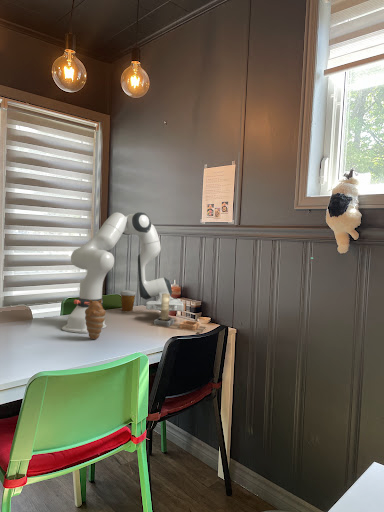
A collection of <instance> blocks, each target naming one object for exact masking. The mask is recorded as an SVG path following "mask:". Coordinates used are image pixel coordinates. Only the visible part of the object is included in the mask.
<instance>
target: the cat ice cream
mask: <svg viewBox="0 0 384 512" xmlns="http://www.w3.org/2000/svg"><path fill="white" fill-rule="evenodd" d="M101 302H102V300H99V301H92V300H89V303H90V304H89V307H88V308H87V309H86V310H85V314H86V316H85V320H86V326H87V331H88V337H89V338H90V339H91V340H97V339H99V338H100V335H101V332H102V329H103V328H102V327H103V322H104V323H105V319H106V318H105V315H106V314H107V313H106V310H105V308H104V307H103V304H102V305H101ZM101 328H102V329H101Z"/></svg>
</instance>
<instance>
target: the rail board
mask: <svg viewBox="0 0 384 512" xmlns="http://www.w3.org/2000/svg"><path fill="white" fill-rule="evenodd" d="M147 326H151V327H157V328H164V329H172V330H179V331H187V332H192V333H195V335H197V334H200V333H201V334H202V333H203V332H204V331H205V330H206V329H205V328H207V327H206V326H201V324H200V322H199V321H193V320H192V321H191V320H183V321H181V322H180V323H179V322H175V318H170V317H168V321H161V316H160V317H157V318H156V319H154V320H153V321H152V322H151V323H149V324H147ZM204 329H205V330H204ZM203 330H204V331H203ZM202 331H203V332H202ZM201 334H200V335H201Z"/></svg>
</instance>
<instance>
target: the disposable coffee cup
mask: <svg viewBox="0 0 384 512" xmlns="http://www.w3.org/2000/svg"><path fill="white" fill-rule="evenodd" d="M119 294H120V296H121V297H120V298H121V299H120V300H121V310H122V311H123V312H126V313H127V312H133V309H134V304H135V298H136V295H137V293H136V290H132V289H122V290H120V293H119Z"/></svg>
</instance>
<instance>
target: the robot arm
mask: <svg viewBox="0 0 384 512" xmlns="http://www.w3.org/2000/svg"><path fill="white" fill-rule="evenodd" d="M157 231H158V230H157V229H156V226H155V225H154V224H152V222H151V219H150V218H149V216H148V215H147V214H146V213H145V212H141V211H140V212H136V213H130V214H127V215H124V214H123V213H121V212H118V211H117V212H116V211H115V212H114V213H112V214H110V216H109V217H108V218H107V219H106V220H105V221H104V222H103V224H102V226H100V228H99V230H97V233H96V234H95V235H93V236H92V238H91V239H89V241H86V243H85V244H83V245H82V246H80V247H78V248H76V249H74V250H73V251H72V253H71V255H70V261H71V264H72V265H73V266H74V267H76V268H78V269H81V270H85V271H86V275H85V277H84V278H83V279H82V280H80V282H79V295H78V299H74V300H73V304H74V305H76V307H75V308H73V310H72V312H71V313H70V314H69V315H68V317H67V324H66V325H63V326H62V327H61V330H63V331H64V332H69V333H78V334H87V333H88V334H89V332H88V331H87V326H86V320H85V316H86V314H85V310H86V309H87V308H88V307H89V304H90V303H89V300H92V301H99V300H102V302H101V305H102V306H103V304H104V303H103V301H104V300H103V299H104V298H103V286H104V280H105V278H106V276H107V274H108V273H109V271H111V270H112V269H113V267H114V265H115V257H114V255H113V253H112V252H110V250H112V249H113V248H114V247H115V246H116V244H117V242H118V241H119V240H120V238H121V236H123V235H126V236H129V235H135V234H136V235H137V237H138V238H139V244H140V253H139V254H138V256H137V270H138V271H137V273H138V294H139V297H140V298H142V299H144V300H146V303H145V309H146V310H151V311H152V310H153V311H160V312H161V303H162V294H170V298H169V312H183V311H184V302H183V301H182V300H181V299H180V298H178V297H177V298H176V297H172V294H173V290H172V284H171V282H170V280H169V279H168V278H167V277H160V278H156V279H152V280H148V281H147V280H146V279H147V278H146V265H148V263H149V262H151V261H152V260H154V259H155V258H156V257H158V256H159V254H160V253H161V250H162V245H161V242H160V237H159V235H158V232H157ZM156 297H157V299H156V300H150V299H152V298H156ZM147 300H148V301H147ZM105 328H107V324H105V321H104V322H103V327H102V328H101V330H102V329H105Z"/></svg>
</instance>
